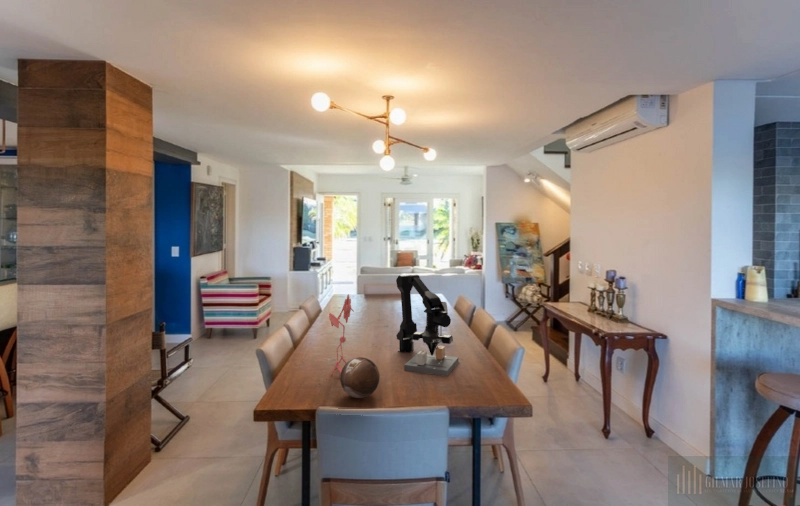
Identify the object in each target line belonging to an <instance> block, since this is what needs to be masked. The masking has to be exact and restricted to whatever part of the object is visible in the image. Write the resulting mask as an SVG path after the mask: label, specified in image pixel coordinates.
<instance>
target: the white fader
mask: <svg viewBox="0 0 800 506" xmlns="http://www.w3.org/2000/svg"><path fill="white" fill-rule="evenodd" d="M427 354H428V351H427V350H420V351H419V352H417V353H416V355H417V365H424V364H425V363H426V362H427Z"/></svg>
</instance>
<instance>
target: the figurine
mask: <svg viewBox="0 0 800 506" xmlns="http://www.w3.org/2000/svg"><path fill="white" fill-rule="evenodd" d="M351 311H352V312H353V313H354V312H355V311H354V309H353V308H352V299H351V298H350V294H349V293H347V296H346V298H345V299H344V302H343V306H342V309H341V311H340V313H339V315H338V317H337V316H335V315H334V314H332V312H331V313H330V312H329V314H328V315H329V316H328V318H329V319H328V320H329V321H330V324H331V327H335V328H336V329H340V325H341V326H342V327H343V328H342V329H343V332H342V336H340V338H339V342H340V344H339V345H338V347H336V360H337V361H335V363H334V364H335V365H334V366H335V367H334V369H333V371H332V372H331V374H330V376H333V375H332V374H334V373H335V370H337V371H338V373H339V374H340V375H341V371H342V369H343V367H342V366H341V364H340V363H341V362H343V363H344V365H345V364H346V363H347V362H346V361H345V359H344V355H343V354H341V355H340V359H339V353H338V352H339V350H338V349H339V347H340V351H341V353H343V350H342V349H343V347H342V344H344V343H345V342H346V341H347V339H346V337H345V331H346V330H345V327H346V326H345V325H344V324H343V323H342V322H341V321H340V319H341V317H342V316H343V317H342V318H343V319H344V320H345V323H346V324H347V323H348V320H349V318H350V316H351ZM342 314H343V315H342ZM336 368H337V369H336ZM327 380H328V381H330V378H329V379H328V378H327Z"/></svg>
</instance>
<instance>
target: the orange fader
mask: <svg viewBox="0 0 800 506" xmlns="http://www.w3.org/2000/svg"><path fill="white" fill-rule="evenodd" d="M435 355H436V359H441V360H442V359H443V358H444V357H445V356H446V346H445V345H437V347H436V349H435Z"/></svg>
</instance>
